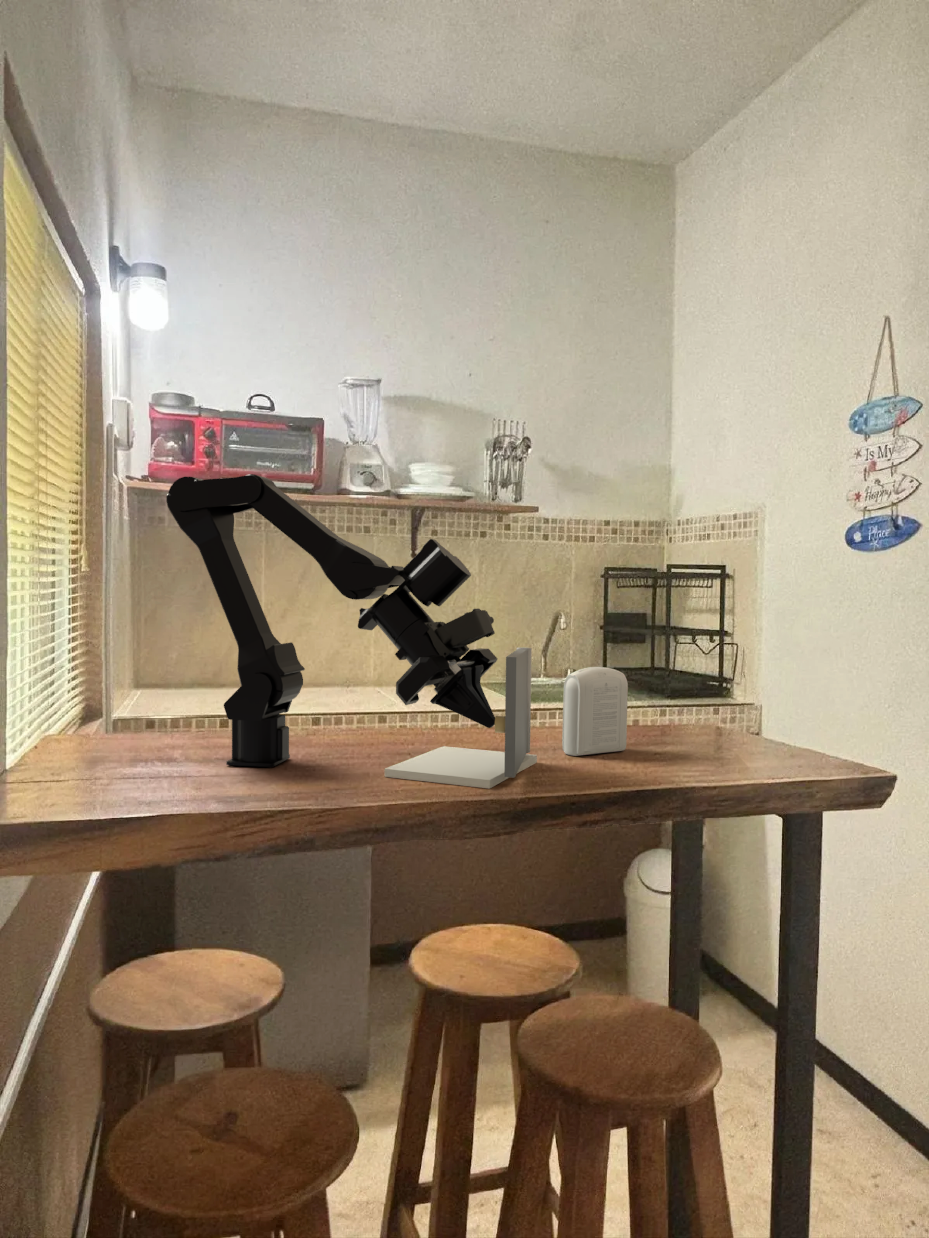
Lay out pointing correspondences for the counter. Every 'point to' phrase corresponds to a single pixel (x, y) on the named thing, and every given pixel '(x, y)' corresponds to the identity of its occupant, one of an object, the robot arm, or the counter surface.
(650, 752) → the counter surface
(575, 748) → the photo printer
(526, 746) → the door
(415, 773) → the board
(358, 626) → the robot arm
